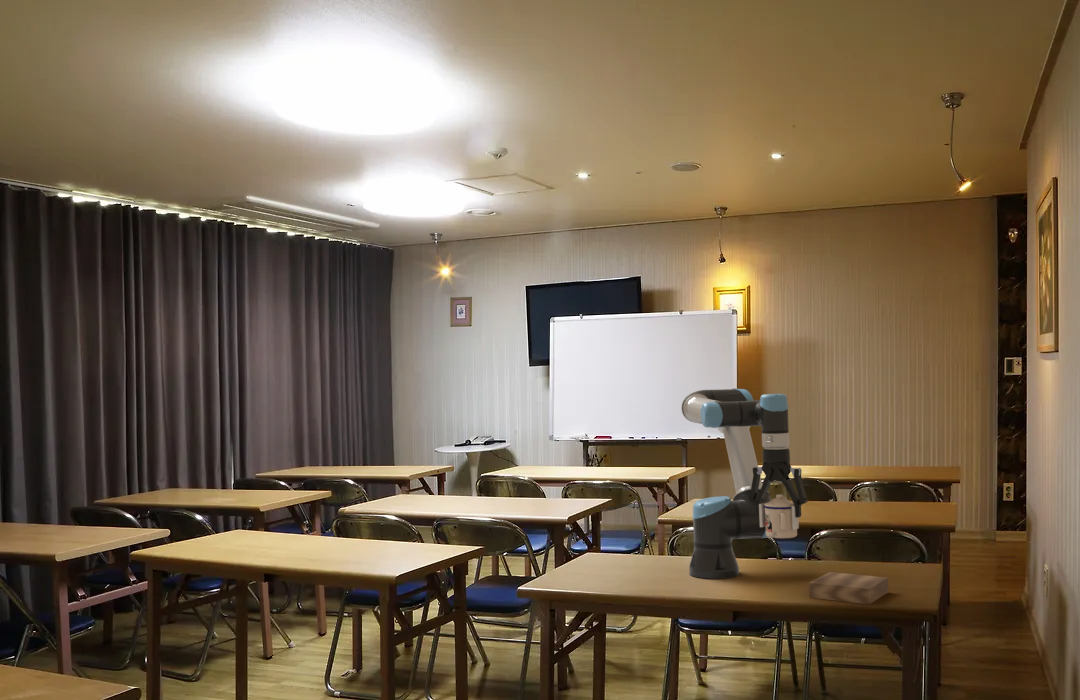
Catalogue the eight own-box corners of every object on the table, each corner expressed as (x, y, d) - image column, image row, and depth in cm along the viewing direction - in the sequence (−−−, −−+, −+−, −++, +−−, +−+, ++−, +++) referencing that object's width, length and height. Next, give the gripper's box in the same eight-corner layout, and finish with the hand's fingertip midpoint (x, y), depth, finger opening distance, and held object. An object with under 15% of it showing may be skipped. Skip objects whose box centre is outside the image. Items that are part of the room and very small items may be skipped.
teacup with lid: (763, 533, 261) (761, 493, 261) (795, 533, 259) (793, 492, 260) (767, 540, 249) (765, 498, 250) (801, 540, 248) (799, 497, 248)
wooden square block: (809, 597, 244) (809, 582, 244) (830, 586, 257) (829, 571, 257) (869, 604, 234) (868, 589, 234) (888, 592, 247) (887, 577, 247)
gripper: (734, 448, 259) (737, 526, 258) (808, 449, 246) (811, 532, 245) (745, 446, 265) (748, 523, 264) (818, 447, 252) (821, 528, 251)
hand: (779, 527), depth 255 cm, fingers closed on teacup with lid, 9 cm apart
